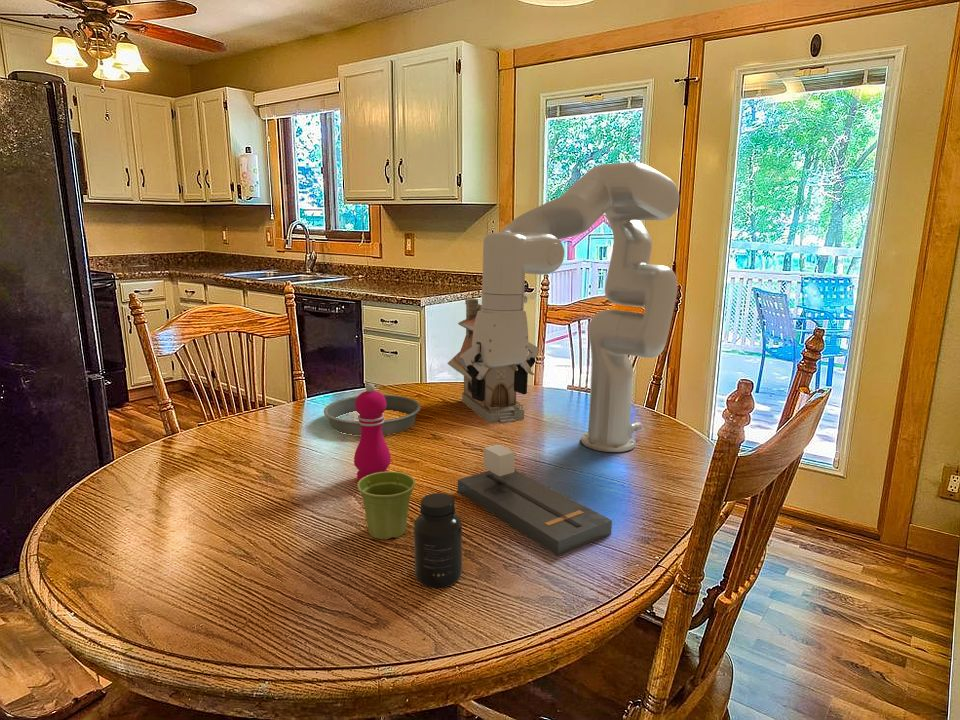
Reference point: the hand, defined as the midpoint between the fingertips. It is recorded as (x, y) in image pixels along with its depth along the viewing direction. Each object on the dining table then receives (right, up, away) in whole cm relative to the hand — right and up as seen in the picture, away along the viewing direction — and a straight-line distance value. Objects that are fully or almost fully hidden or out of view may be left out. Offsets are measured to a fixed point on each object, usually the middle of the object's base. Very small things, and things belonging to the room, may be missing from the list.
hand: (499, 396), depth 110 cm
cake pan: (-31, -10, +45) cm, 55 cm away
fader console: (+5, -20, -3) cm, 21 cm away
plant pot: (-19, -22, -10) cm, 31 cm away
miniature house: (-1, -7, +57) cm, 57 cm away
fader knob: (0, -16, +3) cm, 16 cm away
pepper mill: (-25, -18, +9) cm, 32 cm away
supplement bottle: (-10, -25, -23) cm, 35 cm away
